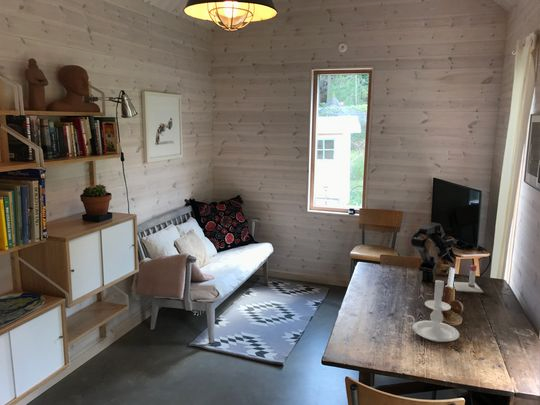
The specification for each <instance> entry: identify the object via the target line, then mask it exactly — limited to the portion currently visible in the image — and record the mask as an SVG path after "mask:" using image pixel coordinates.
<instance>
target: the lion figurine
mask: <svg viewBox="0 0 540 405" xmlns="http://www.w3.org/2000/svg"><path fill="white" fill-rule="evenodd" d="M435 260H436V264H437V265H436V271H435V273H436V274H437V275H439V274H440V271H446V270H447V272H445V274H447V275H448V274H449V273H448V272H449V268H450V267H452V266H451V265H449V264H443V263H441V261H439V260H437V259H435ZM450 269H451V268H450Z"/></svg>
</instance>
